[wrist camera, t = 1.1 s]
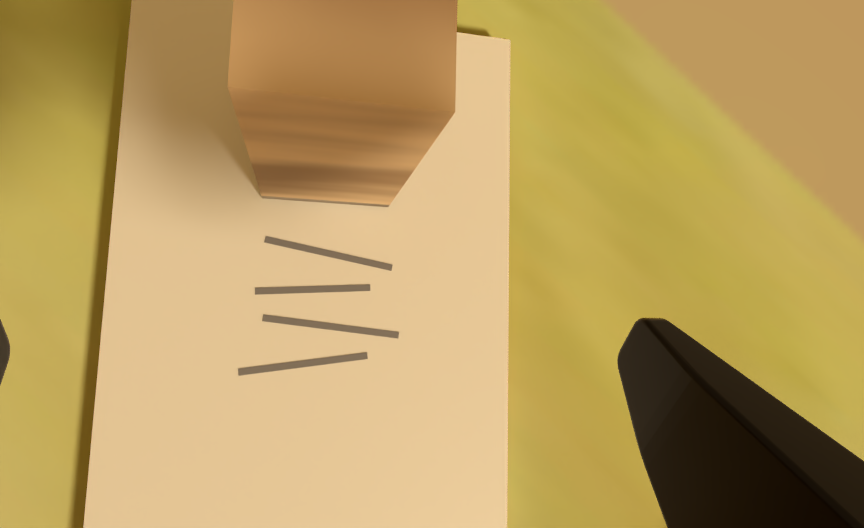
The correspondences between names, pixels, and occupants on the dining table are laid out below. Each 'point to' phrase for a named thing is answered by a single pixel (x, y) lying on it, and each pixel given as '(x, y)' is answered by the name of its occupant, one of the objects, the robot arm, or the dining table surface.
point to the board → (297, 314)
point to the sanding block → (341, 93)
